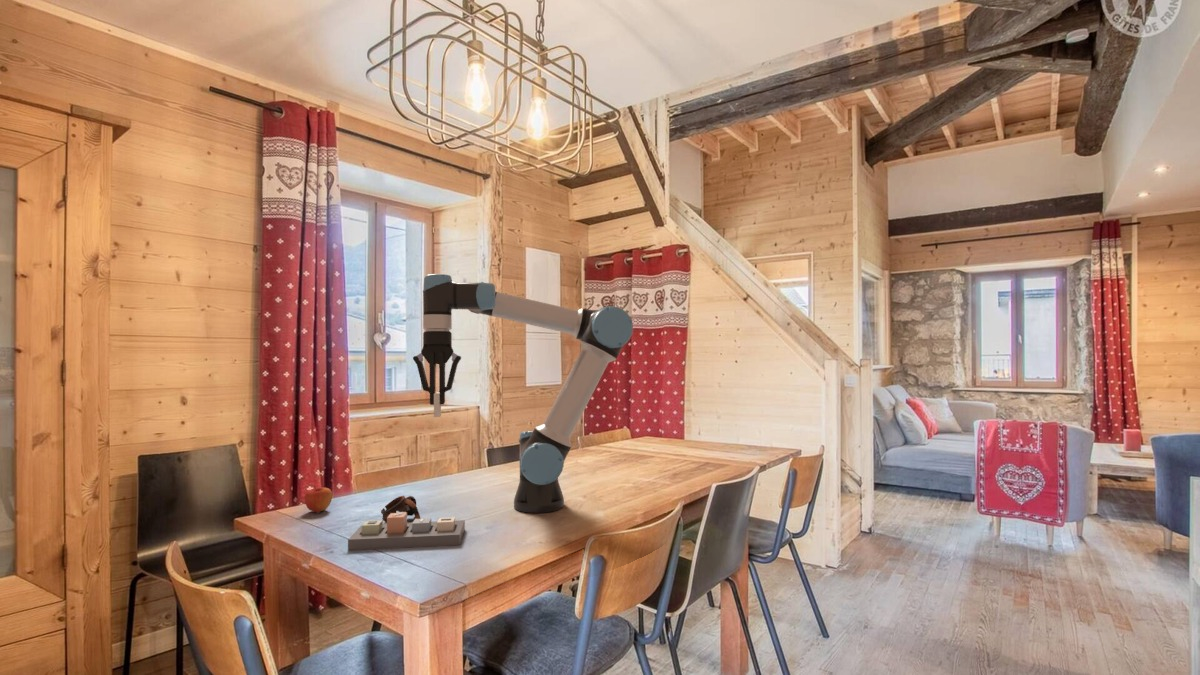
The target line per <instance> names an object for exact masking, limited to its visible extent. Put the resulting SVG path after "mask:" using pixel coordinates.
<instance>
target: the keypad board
mask: <svg viewBox="0 0 1200 675" xmlns="http://www.w3.org/2000/svg"><path fill="white" fill-rule="evenodd" d="M437 521H438V520H437ZM437 521H431V531H430V532H412V523H413V521H411V522H407V529H406V531H405V532H404V533H387V523H383V531H382V532H381V533H380V534H363V535H362V525H363V524H361V525H360V527H359V528H357V530H356V531H355V532H354V533H352V534H351V536H350V537H349V538H348V539H347V551H358V550H362V551H363V550H380V549H381V550H382V549H400V548H401V549H402V548H403V549H404V548H425V547H426V548H427V547H443V546H444V547H445V546H461V542H462V538H463V535H464V533H465V530H466V529H465V528H466V525H465V524H466V520H464V519H463V520H455V531H437Z"/></svg>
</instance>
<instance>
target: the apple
mask: <svg viewBox="0 0 1200 675" xmlns="http://www.w3.org/2000/svg"><path fill="white" fill-rule="evenodd" d="M332 499H333V492H332V490H331V489H330V488H328V487H321V486H320V487H316V485H314V488H311V489H309V490H307V491H306V492H305V495H304V504H305V506H306V508H307V509H308V510H310V511H311V512H313V513H317V514H318V513H321V512H324V511H326V510H327V509H328V508H329V506H330V504H331V502H332Z"/></svg>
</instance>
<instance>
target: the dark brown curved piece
mask: <svg viewBox="0 0 1200 675" xmlns="http://www.w3.org/2000/svg"><path fill="white" fill-rule="evenodd" d="M380 513H381V515H382V519H381V520H383V521H384V522H385V524H387V517H388V516H389V515H390V514H391V513H407V517H408V516H411V517H412V516H414V517H413V521H414V520H415V519H422V518H421V515H420V513H419V510H418V507H417V500H416V498H415V497H414V496H412V495H409V496H407V497H406V496H405V495H400V496H398V497H395V498H393V500H391V501H390V502H388V503H387V504H386V505H385V506H384V508H382V509H381V511H380Z"/></svg>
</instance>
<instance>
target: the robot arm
mask: <svg viewBox="0 0 1200 675" xmlns="http://www.w3.org/2000/svg"><path fill="white" fill-rule="evenodd" d="M423 278H424V279H423V290H422V298H423V299H422V300H423V301H422V304H423V310H422V311H423V312H422V314H423V316H422V318H423V320H422V321H423V322H422V327H423V330H425V331H423V334H422V336H423V337H422V339H423V340H422V343H423V344H422V348H421V351H420V353H419V354H417V355H415V356H413V357H412V360H413V361H414V363H415V364H416V367H417V371H418V375H419V379H420V383H421V387H422V390H423V391H425V392H427V393H429V404H430V405H431V406H433V418H440V417H441V416H442V405H444V404H446V393H447V392H448V391H451V390H452V388H453V384H454V380H455V376H456V373H457V368H458V364H459V363H460V361H461V360H462V356H461V355H458V354H457V353H455V352H454V349H453V347H452V346H453V344H452V340H453V339H452V338H453V337H452V336H453V335H452V334H453V333H452V332H451V331H450V330H452V327H453V326H452V310H467V311H469V312H471V313H474V314H477V315H478V314H481V315H483V316H484V315H485V316H490V317H495V318H498V319H503V320H508V321H512V322H517V323H521V324H526V325H530V326H534V327H538V328H543V329H547V330H551V331H556V332H560V333H566V334H569V335H572V337H573V338H574V339H576V340H580V341H579V343H580V347H581V350H580V352H579V354H578V356H577V357H576V360H575V362H574V363H573V365H572V367H571V368H570V369H571V370H570V372H569V373H568V375H567V377H566V379H565V381H564V383H563V385H562V386H561V388H560V390H559V392H558V394H557V397H556V398H555V400H554V401H553V404H552V406H551V408H550V409H549V411H548V413H547V416H546V417H545V420H544V422H543V423H542V424H540V425H537V426H535V427H534V429H533V430H523V431H521V432H520V434H519V439H518V442H519V482H518V485H517V488H516V489H517V490H516V491H515V495H514V498H513V509H515V510H516V511H519V512H522V513H529V514H531V513H533V514H539V513H543V514H544V513H551V512H557V511H559V510H561V509H562V508H564V506H565V497H564V495H563V491H562V488H561V486H560V482H559V477H561V476H560V475H561V474H562V472H563V471H564V470H563V468H564V466H565V465H564V464H565V460H566V458H567V456H568V454H569V452H570V450H571V449H572V446H573V445H572V442H571V437H572V435H573V432H574V431H575V429H576V427H577V425H578V423H579V421H580V419H581V418H582V416H583V413H584V412H585V409H586V407H587V406H588V404H589V402H590V401H591V398H592V396H593V394H594V392H595V390H596V388H597V386H598V384H599V382H600V381H601V379H602V377H603V375H604V372H605V370H606V369H607V367H608V364H609V363H611V362H615V361H617V359H618V357H619V355H620V353H621V351H622V349H623V348H624V346H625V345H626V344H628V342H629V341H630V339H631V338H632V335H633V332H634V324H633V320H632V318H631V316H630V314H629V313H627V311H626V310H624V309H623V308H620V307H619V306H615V305H614V306H613V305H608V306H607V305H606V306H604V307H601V308H600V309H587V308H583V307H582V308H579V309H578V310H577V309H571V308H570V307H569V308H567V307H563V306H559V305H555V304H550V303H546V302H542V301H539V300H534V299H533V300H532V299H529V298H525V297H520V296H516V295H512V294H507V293H503V292H499V291H496V285H495V283H493V282H492V283H491V282H483V281H481V282H456V281H453V280H452V276H451V275H448V274H442V273H431V274H427V275H425V276H424V277H423ZM450 358H451V361H452V363H451V368H450V371H449V375H448V379H447V383H446V364H447V363H448V361H449V360H450ZM424 359H425V361H426V362H427V363H428V365H429V367H428V368H429V383H428V379H427V375H426V369H425V366H424V363H423V361H424ZM437 365H438V369H439V370H438V371H439V372H438V373H439V379H438V380H439V383H438V384H439V386H438V388H439V390H438V392H436V391H437V390H436V389H437V388H436V387H437V386H436V379H437V378H436V377H437V376H436V374H437V373H436V369H437Z"/></svg>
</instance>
